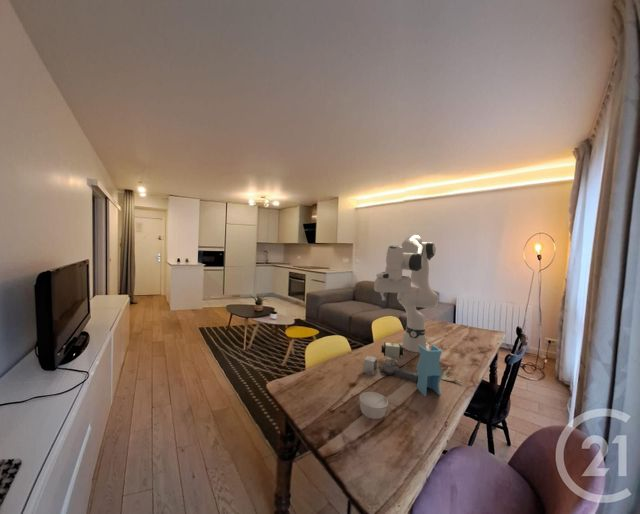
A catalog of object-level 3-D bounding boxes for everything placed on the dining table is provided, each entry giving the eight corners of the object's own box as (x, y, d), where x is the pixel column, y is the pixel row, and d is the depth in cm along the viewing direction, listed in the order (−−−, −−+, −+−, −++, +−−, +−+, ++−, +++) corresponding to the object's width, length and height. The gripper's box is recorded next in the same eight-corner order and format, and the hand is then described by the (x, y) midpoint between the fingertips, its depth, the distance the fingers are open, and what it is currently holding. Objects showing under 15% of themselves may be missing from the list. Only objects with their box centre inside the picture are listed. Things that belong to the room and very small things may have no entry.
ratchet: (383, 367, 146) (384, 353, 146) (431, 380, 133) (432, 366, 133) (378, 372, 139) (379, 358, 139) (428, 387, 126) (429, 372, 126)
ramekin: (388, 423, 99) (389, 409, 99) (358, 418, 101) (358, 405, 100) (386, 406, 110) (387, 393, 110) (358, 402, 112) (359, 389, 111)
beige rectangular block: (366, 368, 143) (367, 355, 143) (376, 371, 140) (377, 358, 140) (363, 372, 138) (363, 358, 138) (373, 375, 136) (374, 361, 135)
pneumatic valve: (402, 366, 148) (403, 345, 147) (380, 364, 150) (382, 342, 150) (401, 362, 153) (402, 342, 153) (380, 360, 156) (381, 339, 155)
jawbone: (442, 384, 132) (442, 380, 132) (433, 367, 152) (433, 363, 152) (462, 385, 130) (462, 381, 130) (450, 368, 150) (450, 364, 150)
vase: (430, 385, 128) (433, 344, 128) (440, 394, 120) (443, 351, 120) (415, 386, 127) (417, 344, 126) (424, 395, 119) (427, 351, 118)
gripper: (408, 275, 149) (406, 300, 149) (373, 273, 145) (372, 299, 146) (414, 276, 143) (412, 302, 143) (378, 274, 139) (376, 301, 139)
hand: (391, 300), depth 144 cm, fingers open, 8 cm apart
